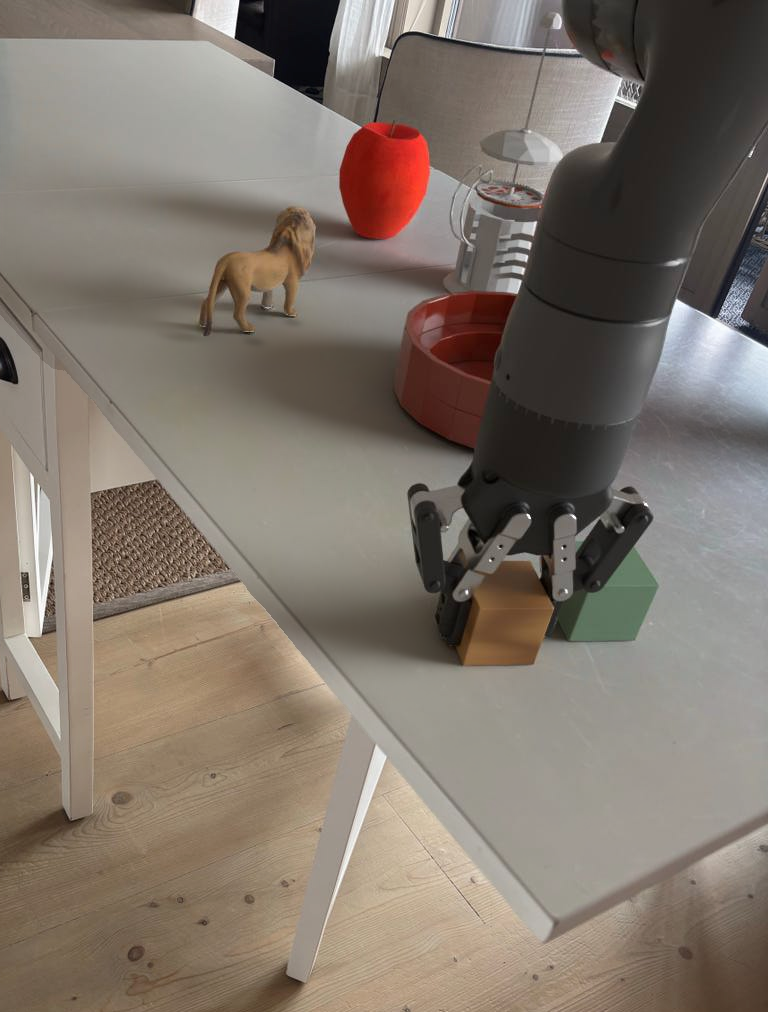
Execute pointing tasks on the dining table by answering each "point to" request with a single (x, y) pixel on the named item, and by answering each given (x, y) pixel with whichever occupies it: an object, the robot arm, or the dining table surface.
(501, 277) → the french press
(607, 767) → the dining table surface
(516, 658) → the block
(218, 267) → the lion figurine
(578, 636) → the block
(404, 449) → the dining table surface
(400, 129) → the apple
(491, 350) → the red shallow bowl
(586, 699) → the dining table surface
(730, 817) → the dining table surface
